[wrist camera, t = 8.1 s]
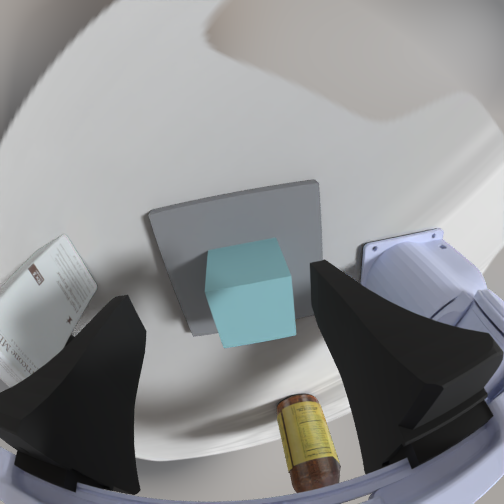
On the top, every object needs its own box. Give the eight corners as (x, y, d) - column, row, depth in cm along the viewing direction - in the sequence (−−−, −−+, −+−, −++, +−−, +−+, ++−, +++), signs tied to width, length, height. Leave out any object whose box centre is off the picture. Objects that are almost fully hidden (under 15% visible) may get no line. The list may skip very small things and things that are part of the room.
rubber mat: (314, 179, 19) (318, 182, 18) (319, 306, 25) (322, 313, 24) (151, 210, 19) (148, 214, 18) (193, 329, 25) (193, 336, 24)
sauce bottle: (299, 414, 36) (326, 527, 18) (266, 409, 34) (287, 536, 16) (328, 393, 33) (366, 516, 16) (294, 387, 31) (328, 529, 14)
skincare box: (100, 286, 21) (48, 398, 11) (70, 299, 22) (19, 398, 11) (64, 228, 18) (-22, 325, 8) (35, 247, 19) (-39, 336, 8)
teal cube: (276, 237, 20) (291, 275, 15) (282, 291, 22) (296, 335, 18) (208, 250, 20) (204, 291, 15) (222, 302, 22) (223, 348, 18)
